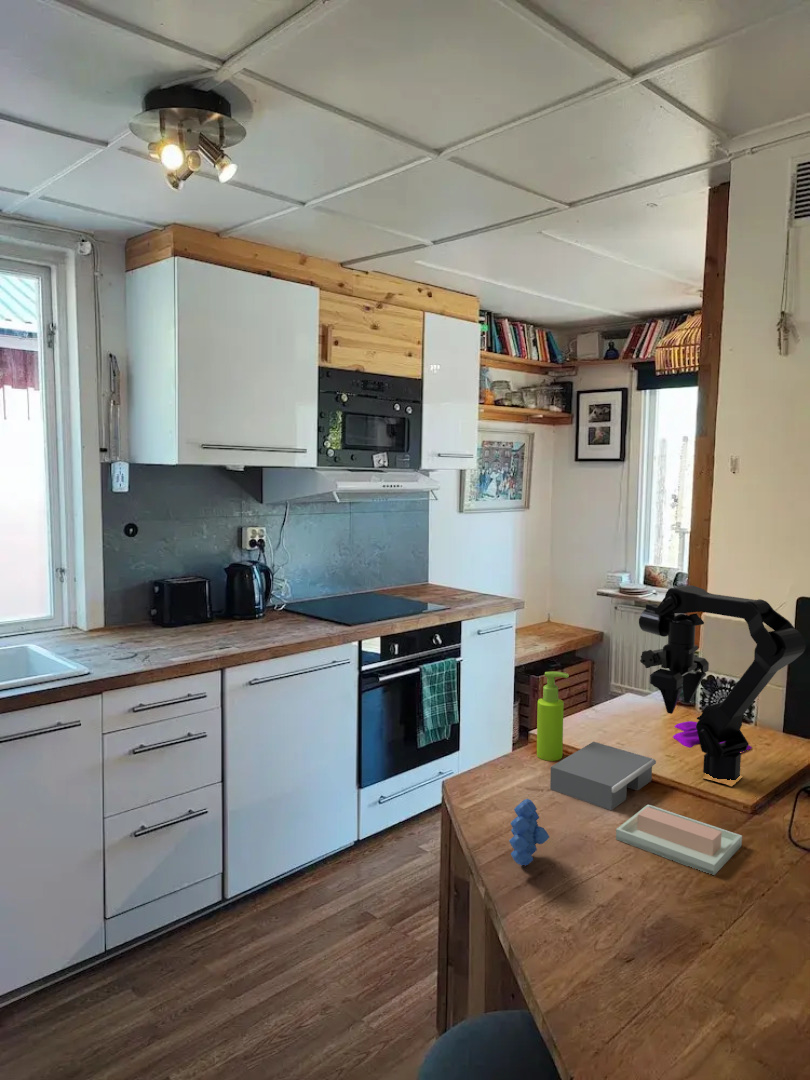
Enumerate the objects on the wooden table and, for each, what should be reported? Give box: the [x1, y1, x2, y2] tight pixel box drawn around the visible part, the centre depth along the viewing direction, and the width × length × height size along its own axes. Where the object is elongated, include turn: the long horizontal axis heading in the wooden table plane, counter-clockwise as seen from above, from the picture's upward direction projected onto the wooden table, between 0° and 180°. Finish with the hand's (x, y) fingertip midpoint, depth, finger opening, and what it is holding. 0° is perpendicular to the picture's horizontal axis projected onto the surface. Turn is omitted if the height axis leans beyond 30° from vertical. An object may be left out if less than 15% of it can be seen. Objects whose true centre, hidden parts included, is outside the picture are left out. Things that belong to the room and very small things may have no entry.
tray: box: [615, 804, 743, 876], centre depth 142 cm, size 18×13×2 cm
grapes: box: [508, 798, 550, 867], centre depth 134 cm, size 12×7×12 cm, turn 159°
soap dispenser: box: [536, 671, 570, 762], centre depth 180 cm, size 6×7×20 cm
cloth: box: [672, 720, 753, 753], centre depth 192 cm, size 22×19×6 cm
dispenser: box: [549, 741, 657, 811], centre depth 165 cm, size 15×18×5 cm
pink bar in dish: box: [637, 807, 722, 856], centre depth 142 cm, size 14×4×3 cm, turn 48°
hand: (678, 707), depth 178 cm, fingers open, 9 cm apart
